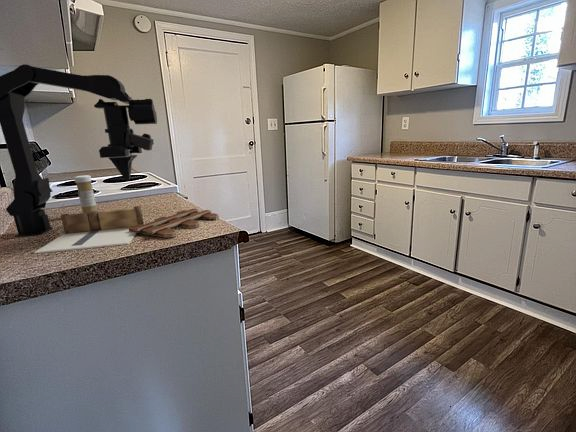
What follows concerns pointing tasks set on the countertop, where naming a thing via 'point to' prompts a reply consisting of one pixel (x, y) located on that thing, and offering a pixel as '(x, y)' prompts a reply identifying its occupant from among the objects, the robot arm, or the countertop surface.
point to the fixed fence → (81, 222)
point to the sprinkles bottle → (86, 193)
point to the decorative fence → (173, 223)
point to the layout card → (89, 240)
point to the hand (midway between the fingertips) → (127, 180)
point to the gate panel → (120, 218)
